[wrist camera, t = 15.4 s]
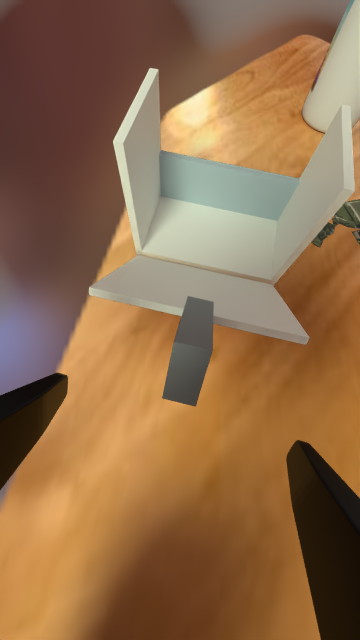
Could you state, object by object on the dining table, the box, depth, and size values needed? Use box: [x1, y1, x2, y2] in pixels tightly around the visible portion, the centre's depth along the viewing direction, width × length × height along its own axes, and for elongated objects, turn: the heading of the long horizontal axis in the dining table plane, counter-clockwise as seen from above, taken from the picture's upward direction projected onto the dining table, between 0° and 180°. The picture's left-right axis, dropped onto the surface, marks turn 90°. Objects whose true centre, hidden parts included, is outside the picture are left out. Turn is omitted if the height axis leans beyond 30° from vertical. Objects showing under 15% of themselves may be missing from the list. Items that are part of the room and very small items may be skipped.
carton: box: [113, 68, 355, 286], centre depth 20 cm, size 8×14×12 cm, turn 77°
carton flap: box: [89, 255, 310, 406], centre depth 16 cm, size 3×13×15 cm
